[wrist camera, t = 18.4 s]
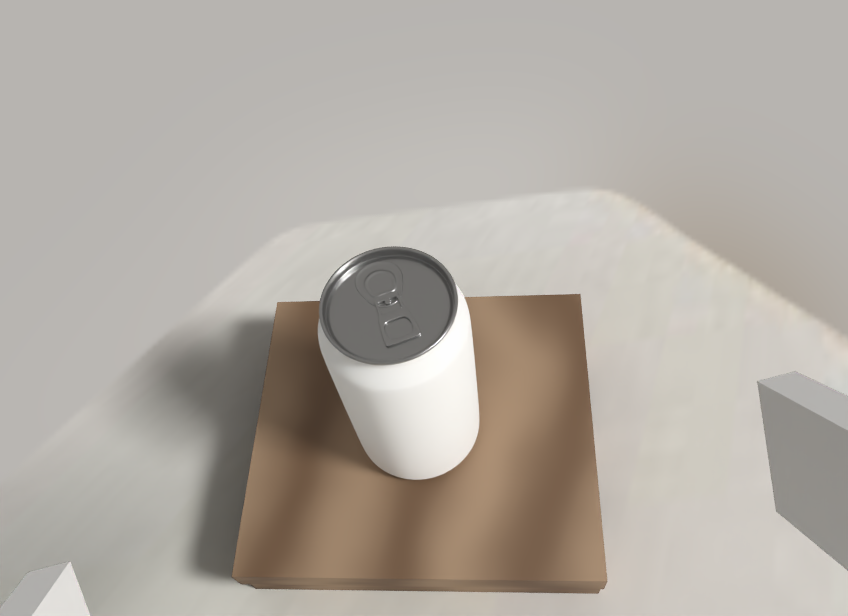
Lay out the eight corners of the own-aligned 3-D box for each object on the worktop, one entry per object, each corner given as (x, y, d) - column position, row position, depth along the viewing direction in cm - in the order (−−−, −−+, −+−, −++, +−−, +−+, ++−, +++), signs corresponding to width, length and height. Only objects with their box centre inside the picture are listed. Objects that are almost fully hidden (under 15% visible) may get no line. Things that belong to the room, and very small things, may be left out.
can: (453, 354, 42) (434, 218, 32) (499, 455, 38) (494, 337, 28) (344, 395, 41) (290, 269, 31) (381, 502, 38) (333, 398, 28)
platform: (255, 594, 40) (231, 576, 36) (293, 335, 48) (277, 302, 45) (598, 599, 38) (607, 581, 35) (575, 329, 47) (580, 294, 43)
